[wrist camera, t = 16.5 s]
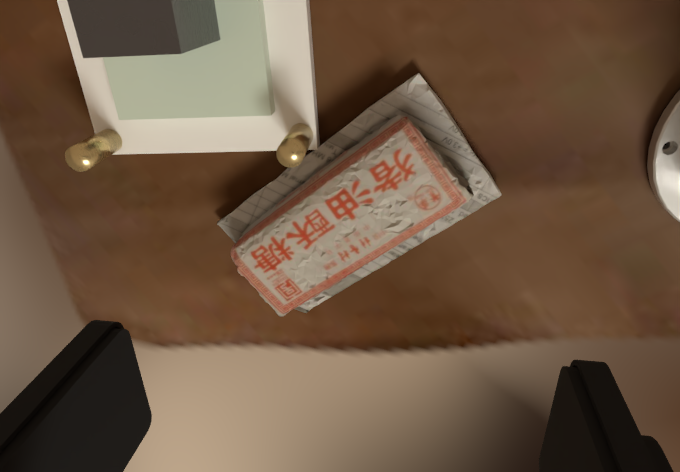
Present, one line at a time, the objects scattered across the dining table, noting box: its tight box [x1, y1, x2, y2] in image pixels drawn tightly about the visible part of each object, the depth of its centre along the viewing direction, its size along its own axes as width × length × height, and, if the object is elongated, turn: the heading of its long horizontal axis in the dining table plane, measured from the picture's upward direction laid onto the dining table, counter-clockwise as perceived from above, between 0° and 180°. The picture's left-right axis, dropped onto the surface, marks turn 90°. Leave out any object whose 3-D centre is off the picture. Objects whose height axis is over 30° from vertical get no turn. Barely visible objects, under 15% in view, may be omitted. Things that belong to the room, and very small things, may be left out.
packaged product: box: [217, 73, 502, 317], centre depth 34 cm, size 18×5×10 cm
